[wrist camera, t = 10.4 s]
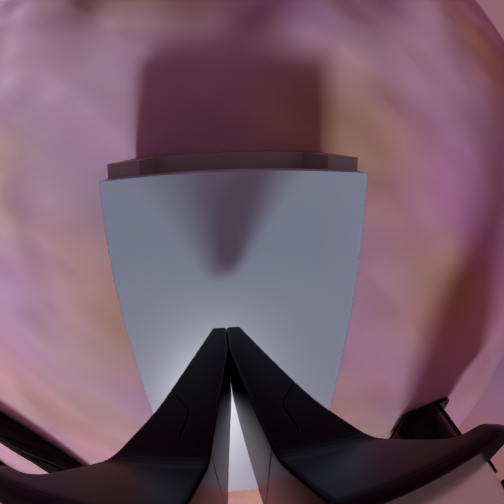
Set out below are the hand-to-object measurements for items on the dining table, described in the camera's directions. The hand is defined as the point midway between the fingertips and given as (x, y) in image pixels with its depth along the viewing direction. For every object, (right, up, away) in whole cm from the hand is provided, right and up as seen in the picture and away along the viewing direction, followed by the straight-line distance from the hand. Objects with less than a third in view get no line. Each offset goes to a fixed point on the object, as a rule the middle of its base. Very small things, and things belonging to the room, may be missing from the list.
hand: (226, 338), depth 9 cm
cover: (0, -5, +4) cm, 7 cm away
